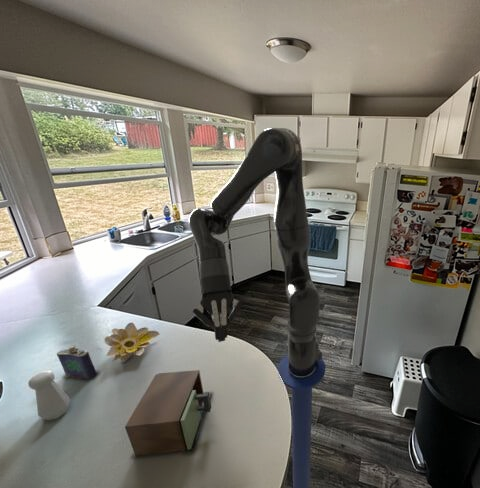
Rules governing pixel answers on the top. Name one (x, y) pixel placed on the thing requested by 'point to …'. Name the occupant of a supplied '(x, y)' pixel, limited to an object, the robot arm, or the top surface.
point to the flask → (76, 363)
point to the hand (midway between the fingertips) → (221, 341)
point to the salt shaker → (49, 396)
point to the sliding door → (194, 416)
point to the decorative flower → (128, 341)
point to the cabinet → (164, 413)
